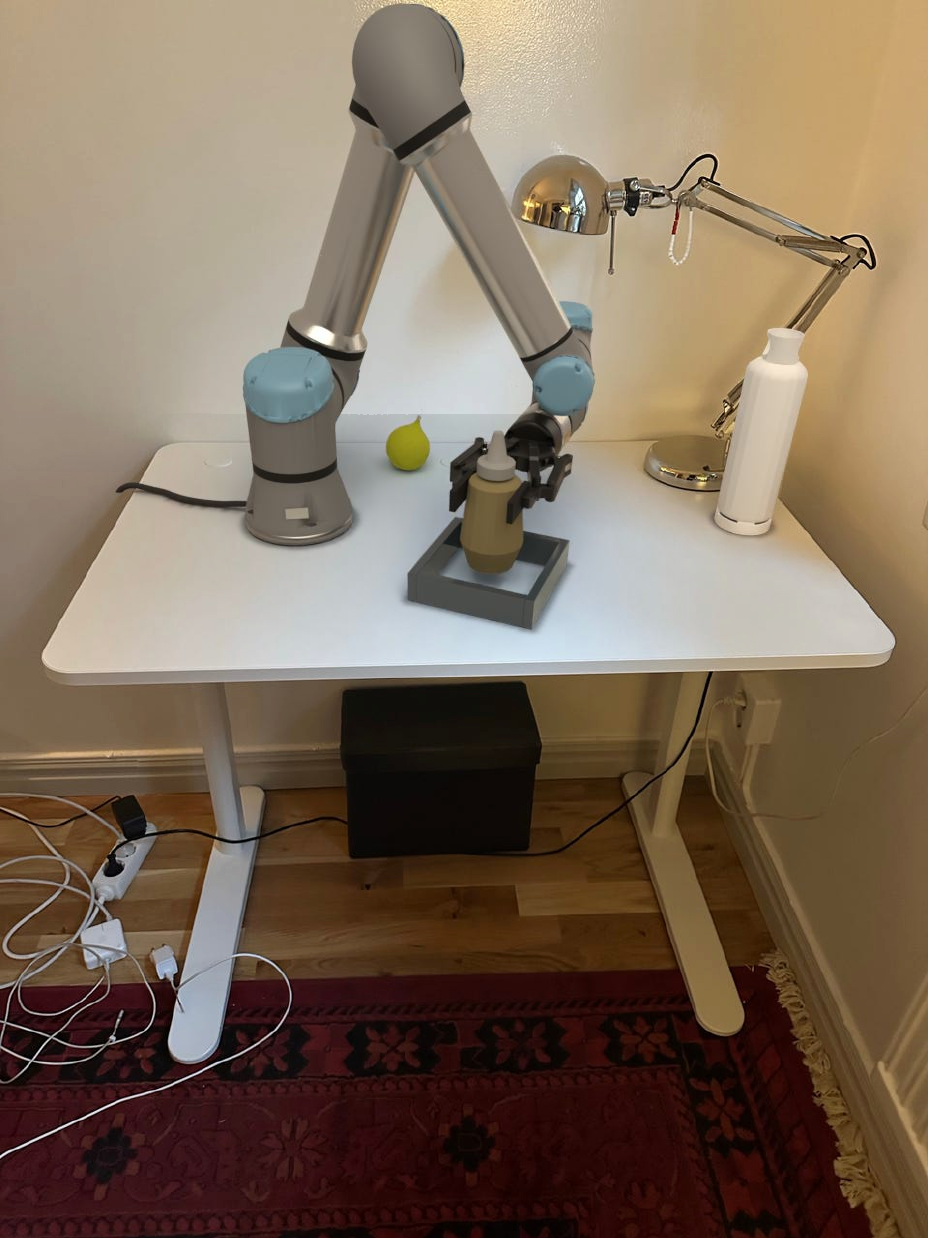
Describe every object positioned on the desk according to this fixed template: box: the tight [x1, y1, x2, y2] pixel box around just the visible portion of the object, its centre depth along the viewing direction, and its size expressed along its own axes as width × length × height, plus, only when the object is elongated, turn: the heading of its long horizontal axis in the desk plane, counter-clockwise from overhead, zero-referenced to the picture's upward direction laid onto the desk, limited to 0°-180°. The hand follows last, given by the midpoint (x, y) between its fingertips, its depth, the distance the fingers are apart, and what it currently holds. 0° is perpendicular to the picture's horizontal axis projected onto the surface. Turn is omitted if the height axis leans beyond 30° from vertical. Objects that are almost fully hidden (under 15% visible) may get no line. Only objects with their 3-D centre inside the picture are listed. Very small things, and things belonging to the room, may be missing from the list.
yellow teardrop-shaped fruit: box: [385, 408, 431, 471], centre depth 141 cm, size 7×7×10 cm
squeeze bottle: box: [460, 429, 524, 575], centre depth 109 cm, size 8×8×18 cm
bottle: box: [713, 327, 809, 536], centre depth 124 cm, size 8×8×28 cm
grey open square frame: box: [406, 516, 571, 630], centre depth 114 cm, size 16×16×4 cm
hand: (480, 507), depth 104 cm, fingers closed on squeeze bottle, 6 cm apart
